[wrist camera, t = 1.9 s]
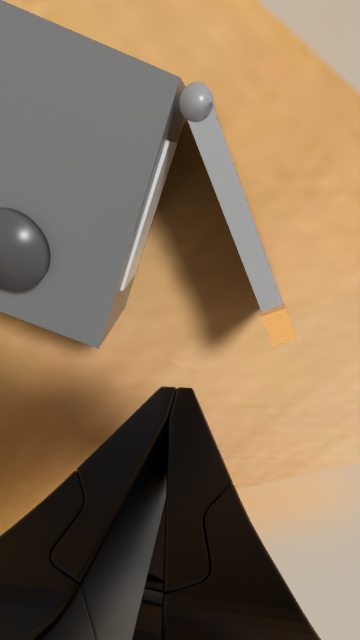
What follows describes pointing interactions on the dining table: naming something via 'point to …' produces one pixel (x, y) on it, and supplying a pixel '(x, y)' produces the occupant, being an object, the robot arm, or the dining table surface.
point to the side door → (235, 208)
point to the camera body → (77, 172)
